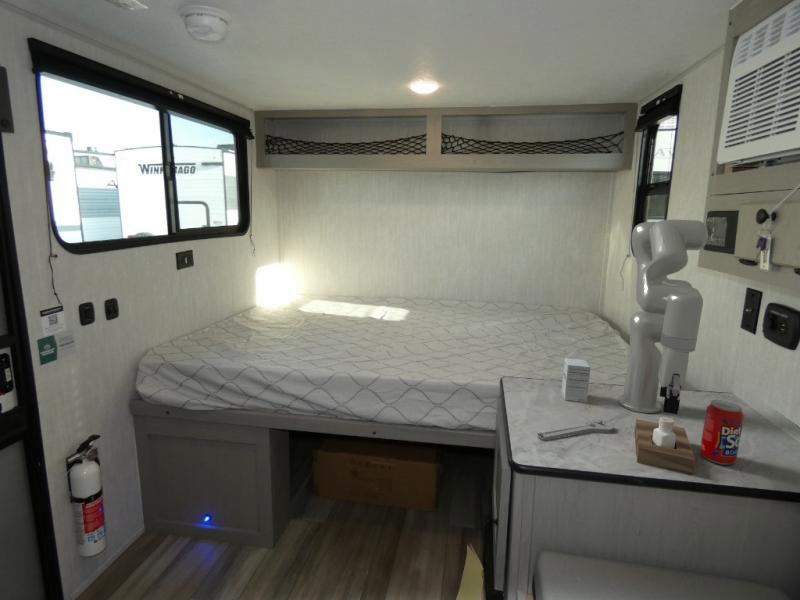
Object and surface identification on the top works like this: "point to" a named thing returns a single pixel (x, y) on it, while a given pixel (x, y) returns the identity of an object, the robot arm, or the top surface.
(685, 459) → the socket block
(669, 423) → the pepper shaker
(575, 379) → the supplement box
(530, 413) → the top surface
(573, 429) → the adjustable wrench
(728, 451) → the soda can
